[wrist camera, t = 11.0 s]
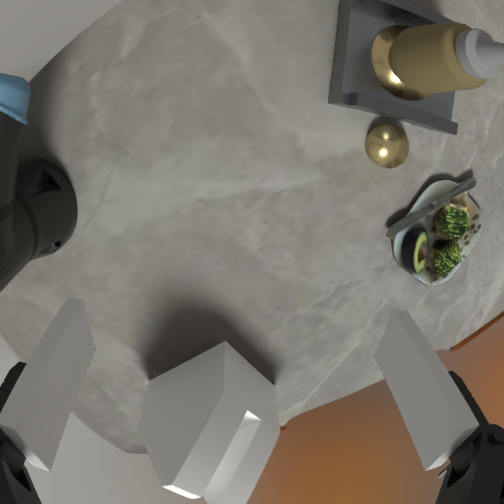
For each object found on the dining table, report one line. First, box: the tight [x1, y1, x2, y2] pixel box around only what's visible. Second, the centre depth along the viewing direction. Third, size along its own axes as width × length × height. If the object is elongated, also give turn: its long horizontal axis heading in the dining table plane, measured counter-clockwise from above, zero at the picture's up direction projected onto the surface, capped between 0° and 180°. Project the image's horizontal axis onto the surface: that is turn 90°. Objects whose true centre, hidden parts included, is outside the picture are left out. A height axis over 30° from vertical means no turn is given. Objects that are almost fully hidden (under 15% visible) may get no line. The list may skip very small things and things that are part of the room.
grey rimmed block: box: [328, 0, 458, 135], centre depth 31 cm, size 16×15×8 cm
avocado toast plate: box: [386, 177, 482, 286], centre depth 43 cm, size 19×18×5 cm
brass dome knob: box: [365, 124, 409, 168], centre depth 39 cm, size 6×6×2 cm
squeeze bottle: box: [388, 22, 504, 94], centre depth 21 cm, size 8×8×18 cm
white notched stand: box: [138, 341, 280, 504], centre depth 47 cm, size 19×15×25 cm
